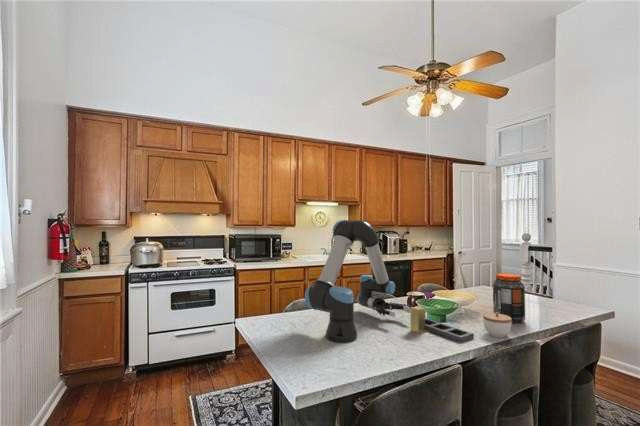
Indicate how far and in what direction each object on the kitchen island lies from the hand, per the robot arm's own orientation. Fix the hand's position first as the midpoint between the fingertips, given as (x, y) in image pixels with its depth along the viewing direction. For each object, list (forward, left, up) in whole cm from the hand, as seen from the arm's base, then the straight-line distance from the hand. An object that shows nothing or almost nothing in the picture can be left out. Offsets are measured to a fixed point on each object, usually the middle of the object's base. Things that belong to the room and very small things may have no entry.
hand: (403, 312), depth 171 cm
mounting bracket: (+38, +20, -8) cm, 44 cm away
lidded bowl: (+30, -34, -7) cm, 46 cm away
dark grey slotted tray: (+10, -17, -7) cm, 21 cm away
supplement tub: (+60, -24, -7) cm, 65 cm away
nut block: (0, -10, -7) cm, 12 cm away
